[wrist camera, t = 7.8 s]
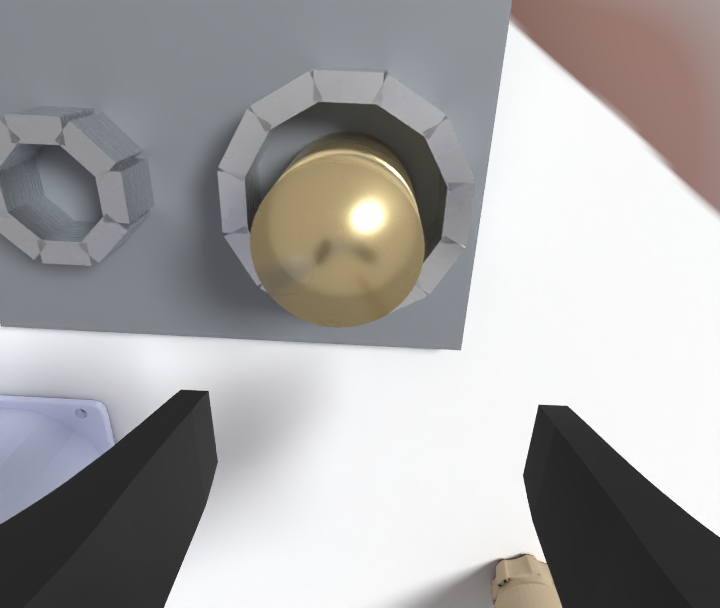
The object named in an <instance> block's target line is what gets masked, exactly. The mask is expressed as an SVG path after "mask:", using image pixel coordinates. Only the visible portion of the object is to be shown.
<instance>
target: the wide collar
mask: <svg viewBox="0 0 720 608" xmlns="http://www.w3.org/2000/svg"><path fill="white" fill-rule="evenodd" d="M317 102H336V103H358V104H377V105H379V106H380V107H382V108H383V109H384V110H386V111H387V112H389V113H390V114H392V115H393V116H395V117H396V118H398V119H399V120H401V121H402V122H404V123H405V124H407V125H408V126H410V127H411V128H412V129H414V130H415V131H417V132H418V133H420V134H421V135H423V136H424V137H425V139H426V141H427V143H428V145H429V147H430V150H431V152H432V154H433V156H434V158H435V160H436V163H437V165H438V167H439V169H440V171H441V175H440V184H439V194H438V203H437V212H436V219H435V221H434V222H433V223H432V225H431V226H430V227H429V229H428V230H427V232H426V233H425V234H424V242H425V253H424V260H423V266H422V269H421V273H420V275H419V278H418V280H417V282H416V284H415V286H414V288H413V289H412V291H411V292H410V294H409V295H408V296H407V297H406V299H405V300H404V301H403V302H402V303H401V304H400V305H399V306H398V307H397V308H395V309H394V310H393V311H396V310H398V309H400V308H402V307H405V306H407V305H409V304H412V303H414V302H416V301H418V300H421V299H423V298H425V297H426V293H428V294H430V293H431V292H432V291H433V289H434V288H435V287H436V286H437V284H438V283H439V282H440V280H441V279H442V278H443V277H444V275H445V274H446V273H447V271H448V270H449V269H450V268H451V266H452V265H453V264H454V262H455V261H456V260H457V259H458V257H459V256H460V255H461V253H462V252H463V251H464V250H465V246H464V244H467V242H468V235H469V227H470V220H471V213H472V206H473V198H474V191H475V184H476V183H475V182H474V179H475V178H474V175H473V173H472V171H471V169H470V166H469V164H468V162H467V159H466V157H465V155H464V152H463V150H462V148H461V145H460V143H459V141H458V138H457V136H456V134H455V131H454V129H453V127H452V124H451V122H450V120H449V118H448V117H447V115H446V114H445V113H444V112H443V110H442V109H441V108H440V107H439V106H438V105H437V104H435V103H434V102H432V101H431V100H429V99H428V98H427V97H425V96H424V95H422V94H421V93H419V92H418V91H417V90H415V89H414V88H412V87H411V86H409V85H408V84H407V83H405V82H404V81H402V80H401V79H399V78H398V77H397V76H395V75H394V74H392V73H391V72H389V71H387V73H386V74H385V76H384V69H373V68H350V67H326V66H321V67H318V68H314V69H312V70H310V71H308V72H306V73H305V74H303V75H301V76H299V77H298V78H296V79H294V80H293V81H291V82H289V83H288V84H286V85H284V86H283V87H281V88H279V89H278V90H276V91H274V92H272V93H271V94H269V95H267V96H266V97H264V98H262V99H261V100H259V101H257V102H256V103H254V104H252V105H251V106H250V108H248V109H247V110H246V112H245V114H244V116H243V118H242V120H241V122H240V124H239V126H238V128H237V130H236V132H235V134H234V136H233V138H232V140H231V142H230V144H229V146H228V148H227V150H226V152H225V154H224V156H223V158H222V160H221V162H220V164H219V166H218V167H219V168H221V169H220V170H218V171H217V173H218V185H219V196H220V208H221V219H222V231H223V233H227V234H226V235H225V236H224V237H225V239H226V240H227V242H228V243H229V245H230V246H231V248H232V249H233V251H234V252H235V254H236V255H237V257H238V258H239V260H240V261H241V263H242V264H243V266H244V267H245V269H246V270H247V272H248V273H249V274H250V276H251V277H252V279H253V280H254V282H255V283H256V285H257V286H258V285H260V284H262V283H261V282H260V280H259V278H258V276H257V273H256V271H255V268H254V265H253V261H252V256H251V250H250V236H251V228H252V224H253V220H254V217H255V214H256V212H257V210H258V208H259V206H260V204H261V196H260V176H259V162H260V160H261V158H262V156H263V154H264V153H265V151H266V149H267V147H268V145H269V143H270V141H271V139H272V138H273V136H274V134H275V132H276V130H277V128H278V126H279V124H281V123H283V122H284V121H286V120H288V119H290V118H291V117H293V116H295V115H297V114H298V113H300V112H302V111H303V110H305V109H307V108H309V107H310V106H312V105H314V104H316V103H317ZM260 289H262V290H264V291H265V292H267V291H266V290H265V288H264V287H263V285H262V286H261V288H260ZM267 293H268V292H267ZM393 311H391V312H393ZM391 312H390V313H391Z"/></svg>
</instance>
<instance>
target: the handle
mask: <svg viewBox="0 0 720 608" xmlns="http://www.w3.org/2000/svg"><path fill="white" fill-rule="evenodd" d="M492 599H493V603H494V605H495V606H494V608H562V605H561V602H560V599H559V596H558V593H557V591H556V588H555V585H554V582H553V579H552V576H551V573H550V570H549V568H548V565H547V563H542V562H539V561H538V560H536V558H535V557H534V556H532V555H524V556H522V557H520V558H517V559H512V560H505V559H504V560H502V561H501V562H499V563H498V565H497V566H496V576H495V578H493V580H492Z"/></svg>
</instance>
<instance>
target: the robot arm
mask: <svg viewBox="0 0 720 608" xmlns="http://www.w3.org/2000/svg"><path fill="white" fill-rule="evenodd" d="M80 409H82V410H84V411H85V412H83V411H81V410H80ZM217 463H218V460H217V453H216V445H215V437H214V430H213V422H212V415H211V407H210V399H209V392H208V391H196V390H180V391H179V392H178V393H176V394H175V395H174V396H173V397H172V398H170V399H169V400H168V401H167V402H166V403H164V404H163V405H162V406H161V407H160V408H158V409H157V410H156V411H155V412H154V413H153V414H151V415H150V416H149V417H148V418H147V419H146V420H144V421H143V422H142V423H141V424H140V425H138V426H137V427H136V428H135V429H134V430H132V431H131V432H130V433H129V434H127V435H126V436H125V437H124V438H123V439H121V440H120V441H119V442H118V443H116V444H115V442H114V438H113V434H112V429H111V425H110V420H109V416H108V412H107V409H106V406H105V405H104V404H103V403H101V402H99V401H96V400H82V399H64V398H45V397H27V396H8V395H0V608H164V606H165V603H166V601H167V598H168V596H169V594H170V591H171V589H172V586H173V584H174V582H175V579H176V577H177V574H178V572H179V570H180V567H181V565H182V562H183V560H184V557H185V555H186V553H187V550H188V548H189V545H190V543H191V541H192V538H193V536H194V533H195V531H196V528H197V526H198V523H199V521H200V519H201V516H202V514H203V511H204V509H205V506H206V503H207V500H208V496H209V493H210V489H211V486H212V482H213V478H214V474H215V470H216V466H217ZM523 478H524V483H525V488H526V493H527V498H528V503H529V507H530V512H531V516H532V520H533V523H534V527H535V530H536V533H537V536H538V538H539V541H540V544H541V547H542V550H543V553H544V556H545V559H546V562H547V565H548V568H549V570H550V573H551V576H552V579H553V582H554V585H555V588H556V591H557V593H558V596H559V599H560V602H561V605H562V608H720V537H719V536H717V535H716V534H714V533H713V532H712V531H710V530H709V529H708V528H706V527H705V526H704V525H702V524H701V523H700V522H698V521H697V520H696V519H694V518H693V517H692V516H691V515H689V514H688V513H687V512H686V511H684V510H683V509H682V508H681V507H680V506H678V505H677V504H676V503H675V502H673V501H672V500H671V499H670V498H669V497H667V496H666V495H665V494H664V493H662V492H661V491H660V490H659V489H658V488H657V487H655V486H654V485H653V484H652V483H651V482H650V481H648V480H647V479H646V478H645V477H644V476H643V475H642V474H640V473H639V472H638V471H637V470H636V469H635V468H634V467H633V466H631V465H630V464H629V463H628V462H627V461H626V460H625V459H624V458H623V457H622V456H621V455H619V454H618V453H617V452H616V451H615V450H614V449H613V448H612V447H611V446H610V445H609V444H608V443H607V442H605V441H604V440H603V439H602V438H601V437H600V436H599V435H598V434H597V433H596V432H595V431H594V430H593V429H592V428H591V427H590V426H589V425H588V424H586V423H585V422H584V421H583V420H582V419H581V418H580V417H579V416H578V415H577V414H576V413H575V412H574V411H572V410H571V409H570V408H569V407H568V406H556V405H539V406H538V411H537V415H536V420H535V424H534V428H533V433H532V437H531V442H530V446H529V451H528V455H527V460H526V464H525V469H524V473H523Z"/></svg>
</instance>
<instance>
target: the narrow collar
mask: <svg viewBox="0 0 720 608" xmlns="http://www.w3.org/2000/svg"><path fill="white" fill-rule="evenodd" d="M4 115H5V116H2V117H0V233H1V234H2V235H3V236H4V237H6V238H7V239H8V240H9V241H11V242H12V243H13V244H15V245H16V246H17V247H18V248H20V249H21V250H22V251H23V252H25V253H26V254H27V255H28V256H30V257H31V258H32V259H33V260H34V259H36V258H38V257H39V256H41V259H42V263H46V264H66V265H87V266H92V265H93V264H94V263H96V262H98V263H99V262H101V261H102V260H103V259H104V258H106V257H107V256H108V255H110V254H111V253H112V252H113V251H115V250H116V249H117V248H118V247H120V246H121V245H122V244H123V243H125V242H126V241H127V240H128V239H129V238H130V236H131V235H132V234H133V233H134V232H135V231H136V230H137V229H138V228H139V227H140V226H141V224H142V223H143V222H144V221H145V220H146V219H147V218H148V217H149V216H150V215H151V214H152V213H153V212H151V211H150V210H149V209H150V208H152V207H153V206H154V198H153V191H152V184H151V177H150V170H149V163H148V158H137V157H138V156H139V154H140V153H141V152H142V151H143V149H142V148H141V147H140V146H139V145H138V144H136V143H135V142H134V141H133V140H132V139H131V138H130V137H129V136H128V135H127V134H126V133H125V132H124V131H123V130H121V129H120V128H119V127H118V126H117V125H116V124H115V123H114V122H113V121H112V120H111V119H110V118H109V117H108V116H107V115H105V114H104V113H103V112H101V113H98V114H95V110H94V108H79V107H56V106H42V107H37V108H32V109H27V110H22V111H17V112H12V113H7V114H4ZM46 145H60V146H61V147H62V148H64V149H65V150H66V151H67V152H68V153H69V154H70V155H71V156H73V157H74V158H75V159H76V160H77V161H78V162H79V163H80V164H82V165H83V166H84V167H85V168H86V169H87V170H88V171H90V172H91V173H92V174H93V175H94V176H95V177H96V183H97V188H98V193H99V198H100V203H101V209H102V214H103V218H102V219H101V220H100V221H99V222H90V221H75V220H74V219H72V218H71V217H70V216H69V215H68V214H66V213H65V212H64V211H63V210H62V209H61V208H59V207H58V206H57V205H56V204H55V203H53V202H52V201H51V200H50V199H49V198H47V197H46V196H45V195H44V191H43V186H42V182H41V178H40V174H39V170H38V166H37V161H36V157H37V156H38V155H39V153H40V152H41V151H42V150H43V148H44V147H45V146H46Z"/></svg>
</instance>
